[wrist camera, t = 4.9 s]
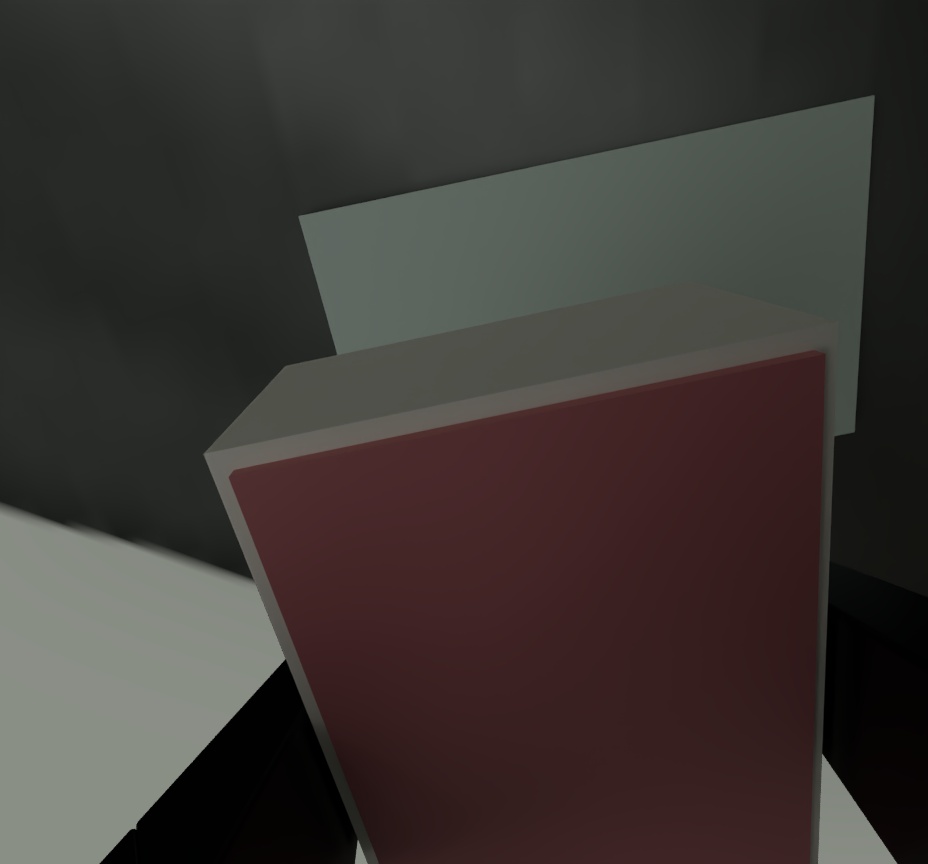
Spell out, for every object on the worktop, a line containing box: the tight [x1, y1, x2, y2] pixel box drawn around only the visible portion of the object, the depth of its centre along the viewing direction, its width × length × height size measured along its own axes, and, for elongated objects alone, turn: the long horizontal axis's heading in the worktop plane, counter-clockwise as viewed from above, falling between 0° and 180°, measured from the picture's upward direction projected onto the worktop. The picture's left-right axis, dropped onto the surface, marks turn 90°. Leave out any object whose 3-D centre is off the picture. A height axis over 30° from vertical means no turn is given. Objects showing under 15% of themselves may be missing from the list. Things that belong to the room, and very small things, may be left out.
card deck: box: [204, 281, 839, 864], centre depth 8 cm, size 8×6×3 cm
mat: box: [299, 95, 875, 436], centre depth 18 cm, size 16×10×1 cm, turn 101°
